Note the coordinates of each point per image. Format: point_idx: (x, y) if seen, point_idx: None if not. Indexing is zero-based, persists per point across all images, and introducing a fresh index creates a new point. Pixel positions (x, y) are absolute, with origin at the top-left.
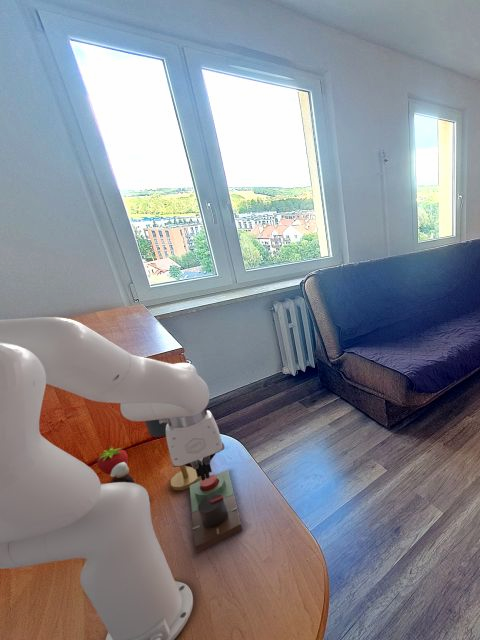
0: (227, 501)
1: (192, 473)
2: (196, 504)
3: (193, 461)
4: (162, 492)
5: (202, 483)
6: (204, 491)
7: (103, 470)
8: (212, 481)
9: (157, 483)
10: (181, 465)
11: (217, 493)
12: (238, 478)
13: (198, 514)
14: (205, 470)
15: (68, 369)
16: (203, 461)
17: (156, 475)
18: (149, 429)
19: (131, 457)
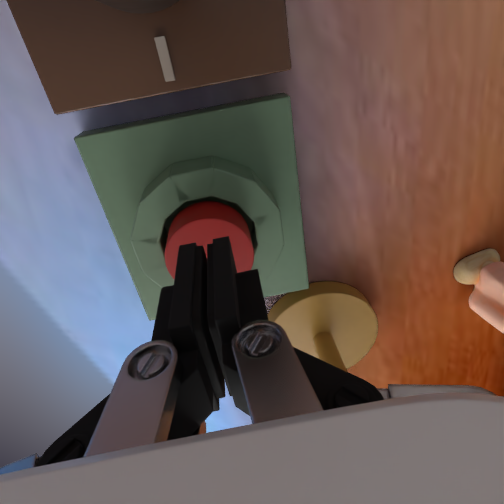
0: (81, 64)
1: (299, 346)
2: (271, 150)
3: (280, 412)
4: (400, 296)
5: (241, 248)
6: (230, 199)
7: None
8: (184, 241)
9: (412, 342)
10: (405, 392)
11: (165, 173)
12: (96, 258)
13: (251, 35)
14: (186, 291)
15: None
16: (193, 384)
17: (412, 375)
18: None
19: None
